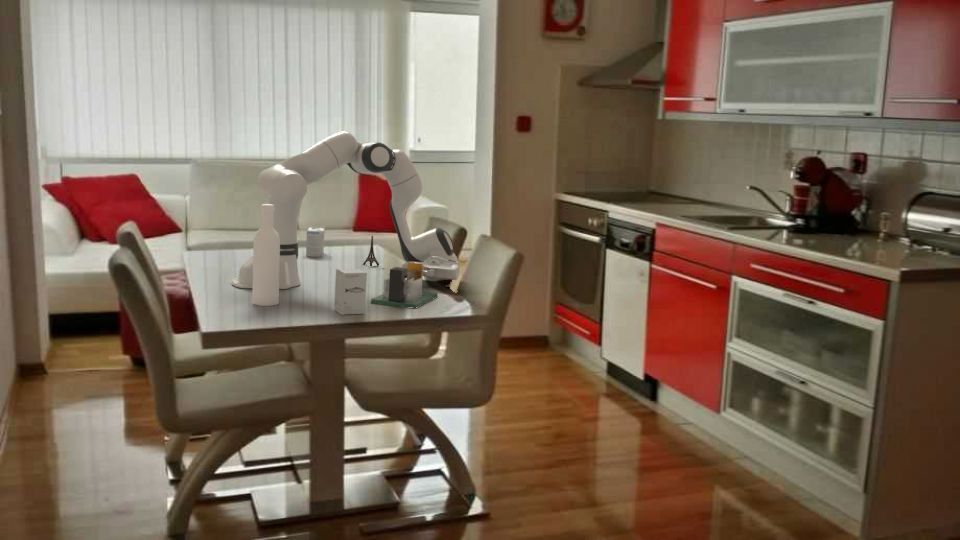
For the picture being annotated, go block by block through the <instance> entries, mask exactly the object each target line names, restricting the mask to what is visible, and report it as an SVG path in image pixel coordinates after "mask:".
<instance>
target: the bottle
mask: <svg viewBox="0 0 960 540" xmlns="http://www.w3.org/2000/svg"><path fill="white" fill-rule="evenodd" d="M260 206H261V208H260V212H261V218H260V228H259V229H258V230H256V231H255V233H254V237H253V246H252V247H253V251H252V252H253V288H252V294H251V298H252V299H251V301H252V302H251V304H252V305H255V306H260V307H271V306H273V307H274V306H277V305H279V300H280V289H279V264H280V238H279V234H278V232H277V231H276V230H275V229H274V228H273V221H274V205H272V204H269V203H262V204H261V205H260Z"/></svg>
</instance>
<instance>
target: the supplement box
mask: <svg viewBox="0 0 960 540" xmlns="http://www.w3.org/2000/svg"><path fill="white" fill-rule="evenodd" d="M367 276H368V272H366V271H364V270H362V269H360V268H336V269H335V282H334V284H335V285H334V305H333V306H334V311H335V312H337V313H338V314H340V315H341V316H344V315H365V314H366V298H367V296H366V295H367V281H368V279H367Z"/></svg>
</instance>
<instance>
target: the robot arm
mask: <svg viewBox="0 0 960 540" xmlns="http://www.w3.org/2000/svg"><path fill="white" fill-rule="evenodd" d="M344 165H347V166H348V167H349V168H350V169H351V170H352V171H353V172H355V173H356V174H360V175H373V174H382V175H383V176H384V178H385V179H386V181H387V184H388V186H389V188H390V190H391V191H390V192H391V199H390V201H389V211H390V215H391V218H392V223H393V225H394V228H395V232H396V234H397V239H398V241H399V246H400V250H401V255H402V257H403V260H404V261H405V262H403V263H401V268H407V267H408V262H414V263H423V276H422V277H426V278H427V279H428V280H430V281H433V282H438V281H444V280H450V281H451V280H452V281H454V280H455V281H457V280H458V279H459V276H460V262H459V260H458V257H457V255H456V254H455V252H454V249H455V246H454V243H453V240H452V238H451V236H450V234H449V233H448V232H447V231H446V230H444V229H442V228H440V227H436V228H432V229H430V230H427V231H425V232H423V233H421V234H419V235H416V236H413V235H412V234H411V231H410V228H409V223H408V221H407V218H406V212H407V210H408V209H409V208H410V207H411V206H412V205H413V204H414V203H415V202H417V200H418V199H419V197H420V196H421V193H422V191H423V183H422V180H421V177H420V175H419V173H418V171H417V169H416V167H415V166H414V164H413V162H412V160H410V158H409V156H408V155H407V154H406V153H405V151H404V150H402V149H398V148H396V149H391V148H390V147H389V146H387V145H386V144H385V143H382V142H380V141H368V142H359V141H357V139H356V137H355V136H354V135H353V134H352V133H351V132H348V131H343V130H341V131H339V132H336V133H334V134H332V135H329V136H327V137H326V138H325V137H324V138H323V139H321V140H320V141H318V142H317V143H315V144H313V145H312V146H310V147H308V148H307V149H305V150H304V151H302V152H300V153H298V154H295V155H293V156H291V157H289V158H287V159H284V160H282V161H280V162H279V163H277V164H274V165H272V166H271V167H268V168H265V169H263V170H262V171H261V172H260V173H259V174H258V176H257V180H256V183H257V188H258V189H259V191H260V192H261V194H263V196H264V197H266V198H268V199H269V203H268V204H272V205H274V221H273V228H274V229H275V230H276V231H277V232H278V234H279V238H280V264H279V290H280V289H281V290H287V289H290V288H294V287H297V286H301V279H300V276H299V268H298V258H299V243H298V221H299V215H300V211H301V206H302V203H303V200H304V197H306V196H307V193H308V185H311V184H314V183H318V182H319V181H321V180H323V179H325V178H326V177H328V176H330V175H331V174H332V173H334V172H336V171H337V170H339V169H340V168H342V167H343V166H344ZM231 285H233V286H234V287H236V288H240V289H253V256H251V257H250V258H248V259H247V260H245V261H244V262H243V263H242V264H241V265H240V267H239V271H238V277H234V278H232V279H231Z"/></svg>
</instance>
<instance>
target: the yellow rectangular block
mask: <svg viewBox="0 0 960 540" xmlns="http://www.w3.org/2000/svg"><path fill="white" fill-rule="evenodd" d="M423 263H424V262H422V263H414V262H408V267H407V268H408V272H407V275H405V276H404V278H405V279H406V280H407V279H409V278H411V277H412V278H414V281H415V280H417V279H420V278H421V279H422V280H423V277H424V276H423Z"/></svg>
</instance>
